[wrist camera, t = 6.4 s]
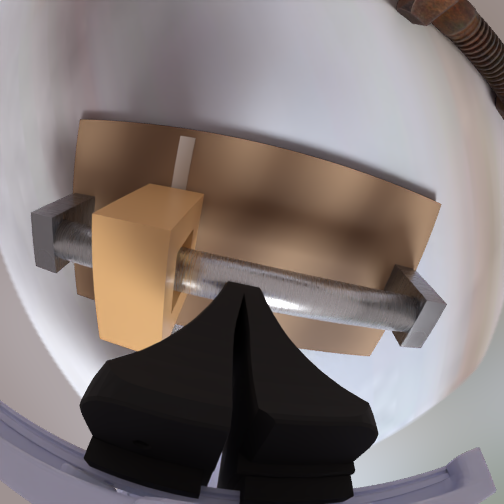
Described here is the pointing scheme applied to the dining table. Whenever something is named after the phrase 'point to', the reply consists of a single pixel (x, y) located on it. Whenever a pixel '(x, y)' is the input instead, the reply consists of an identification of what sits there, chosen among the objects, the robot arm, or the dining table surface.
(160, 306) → the collar
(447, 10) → the bolt
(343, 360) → the dining table surface
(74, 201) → the rail
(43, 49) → the dining table surface
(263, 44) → the dining table surface
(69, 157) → the dining table surface
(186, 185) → the board
